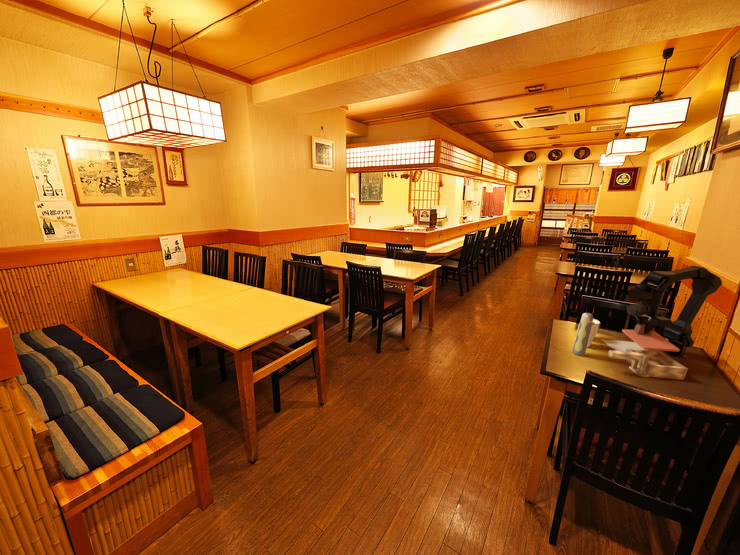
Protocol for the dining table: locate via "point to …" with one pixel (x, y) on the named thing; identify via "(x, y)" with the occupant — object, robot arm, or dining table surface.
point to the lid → (649, 339)
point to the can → (590, 334)
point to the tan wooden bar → (625, 355)
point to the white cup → (595, 327)
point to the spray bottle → (583, 334)
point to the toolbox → (656, 365)
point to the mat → (622, 345)
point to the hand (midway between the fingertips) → (642, 332)
